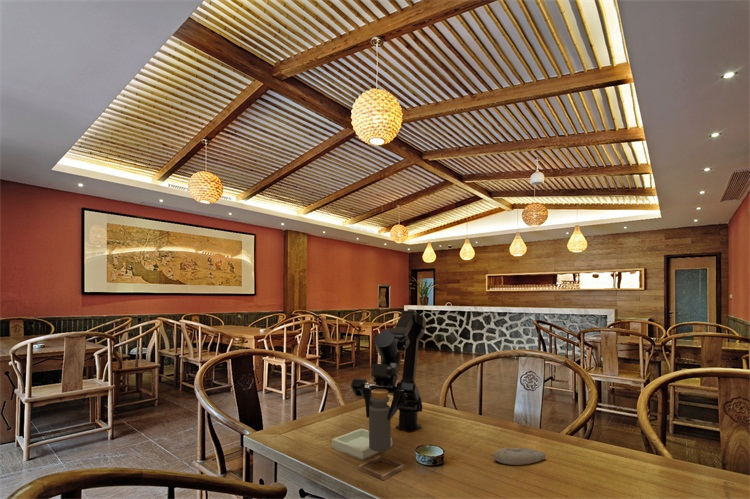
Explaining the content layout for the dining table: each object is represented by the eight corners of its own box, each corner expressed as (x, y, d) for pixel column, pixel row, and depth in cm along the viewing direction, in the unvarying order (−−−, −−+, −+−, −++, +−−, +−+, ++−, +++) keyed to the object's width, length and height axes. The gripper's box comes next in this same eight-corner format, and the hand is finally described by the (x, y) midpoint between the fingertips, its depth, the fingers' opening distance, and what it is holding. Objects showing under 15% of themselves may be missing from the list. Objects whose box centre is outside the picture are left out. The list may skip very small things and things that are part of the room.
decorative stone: (551, 464, 112) (550, 451, 112) (498, 468, 109) (498, 455, 110) (538, 455, 118) (537, 443, 118) (488, 459, 115) (488, 446, 116)
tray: (361, 436, 132) (361, 428, 132) (392, 446, 123) (392, 438, 123) (331, 447, 122) (331, 439, 123) (362, 460, 114) (362, 451, 114)
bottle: (388, 452, 106) (388, 394, 108) (366, 450, 108) (366, 392, 109) (392, 444, 112) (392, 388, 113) (371, 442, 113) (371, 387, 114)
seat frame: (380, 459, 115) (380, 455, 115) (405, 468, 109) (405, 464, 109) (357, 469, 108) (357, 465, 108) (383, 480, 102) (383, 476, 102)
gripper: (353, 349, 118) (337, 399, 107) (415, 353, 113) (406, 406, 101) (362, 371, 125) (348, 420, 114) (421, 376, 119) (413, 427, 108)
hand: (378, 418), depth 109 cm, fingers closed on bottle, 6 cm apart
